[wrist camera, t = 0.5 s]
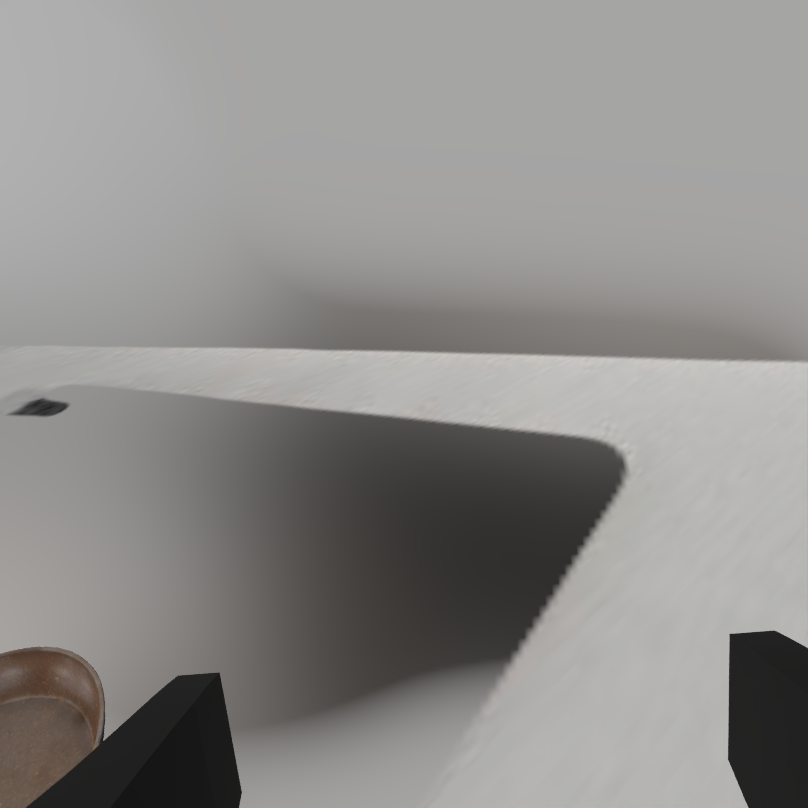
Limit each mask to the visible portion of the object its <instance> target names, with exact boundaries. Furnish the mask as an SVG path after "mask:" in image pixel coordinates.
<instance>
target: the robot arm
mask: <svg viewBox="0 0 808 808" xmlns="http://www.w3.org/2000/svg"><path fill="white" fill-rule="evenodd" d="M728 760H729V762H730V765H731V767H732V769H733V772H734V774H735V777H736V779H737V781H738V784H739V786H740V789H741V791H742V793H743V796H744V798H745V801H746V803H747V805H748V807H749V808H808V648H806V647H805V646H803V645H801V644H799V643H797V642H796V641H794V640H792V639H790V638H788V637H786V636H784V635H782V634H780V633H778V632H776V631H764V632H751V633H738V634H730V655H729V739H728ZM241 793H242V791H241V786H240V781H239V775H238V770H237V765H236V759H235V754H234V748H233V743H232V737H231V732H230V727H229V721H228V716H227V711H226V705H225V699H224V694H223V689H222V683H221V678H220V673H208V674H195V675H182V676H178V677H176V678H175V679H173V680H172V681H171V682H170V683H168V684H167V685H166V686H165V687H164V688H162V689H161V690H160V691H159V692H158V693H157V694H156V695H154V696H153V697H152V698H151V699H150V700H149V701H148V702H147V703H146V704H144V705H143V706H142V707H141V708H140V709H139V710H138V711H137V712H136V713H134V714H133V715H132V716H131V717H130V718H129V719H128V720H127V721H126V722H125V723H123V724H122V725H121V726H120V727H119V728H118V729H117V730H116V731H114V732H113V733H112V734H111V735H110V736H109V737H108V738H107V739H106V740H105V741H103V742H102V743H101V744H100V745H99V746H98V747H96V748H95V749H94V750H93V751H92V752H91V753H90V754H89V755H87V756H86V757H85V758H84V759H83V760H82V761H81V762H80V763H78V764H77V765H76V766H75V767H74V768H73V769H72V770H70V771H69V772H68V773H67V774H66V775H65V776H63V777H62V778H61V779H60V780H59V781H57V782H56V783H55V784H54V785H53V786H51V787H50V788H49V789H48V790H46V791H45V792H44V793H43V794H42V795H40V796H39V797H38V798H37V799H35V800H34V801H33V802H32V803H31V804H29V805H28V806H27V807H26V808H239V804H240V799H241Z"/></svg>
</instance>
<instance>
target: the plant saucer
mask: <svg viewBox="0 0 808 808" xmlns="http://www.w3.org/2000/svg"><path fill="white" fill-rule="evenodd" d="M104 725H105V701H104V693H103V688H102V684H101V681H100V679H99V677H98V674H97V673H96V671H95V670H94V668H93V667H92V666H91V665H90V664H89V663H88V662H87V661H86V660H84V659H83V658H82V657H80V656H79V655H77V654H75V653H73V652H71V651H68V650H64V649H60V648H53V647H31V648H24V649H18V650H13V651H9V652H5V653H2V654H0V808H26V807H27V806H28V805H29V804H31V803H32V802H33V801H34V800H35V799H37V798H38V797H39V796H40V795H42V794H43V793H44V792H45V791H46V790H48V789H49V788H50V787H51V786H53V785H54V784H55V783H56V782H57V781H59V780H60V779H61V778H62V777H63V776H65V775H66V774H67V773H68V772H69V771H70V770H72V769H73V768H74V767H75V766H76V765H77V764H78V763H80V762H81V761H82V760H83V759H84V758H85V757H86V756H87V755H89V754H90V753H91V752H92V751H93V750H94V749H95V748H96V747H98V746H99V745H100V744H101V743H102V742H103V737H104Z"/></svg>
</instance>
